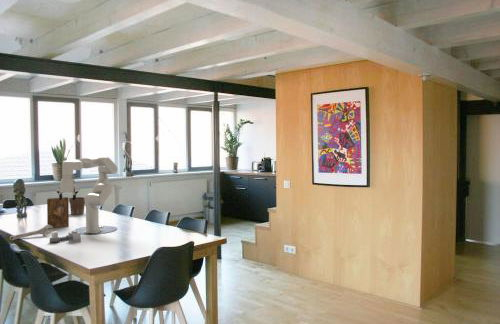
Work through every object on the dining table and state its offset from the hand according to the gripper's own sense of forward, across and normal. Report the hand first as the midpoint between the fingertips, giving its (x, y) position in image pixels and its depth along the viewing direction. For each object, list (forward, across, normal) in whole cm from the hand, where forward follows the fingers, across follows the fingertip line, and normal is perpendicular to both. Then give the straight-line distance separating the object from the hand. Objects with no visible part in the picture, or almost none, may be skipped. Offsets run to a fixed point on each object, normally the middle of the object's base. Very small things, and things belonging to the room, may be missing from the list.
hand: (67, 199), depth 314 cm
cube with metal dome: (+30, -8, +6) cm, 32 cm away
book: (+29, +25, -46) cm, 60 cm away
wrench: (+30, +30, -8) cm, 43 cm away
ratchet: (+30, +2, +4) cm, 30 cm away
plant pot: (+27, +32, -112) cm, 120 cm away
